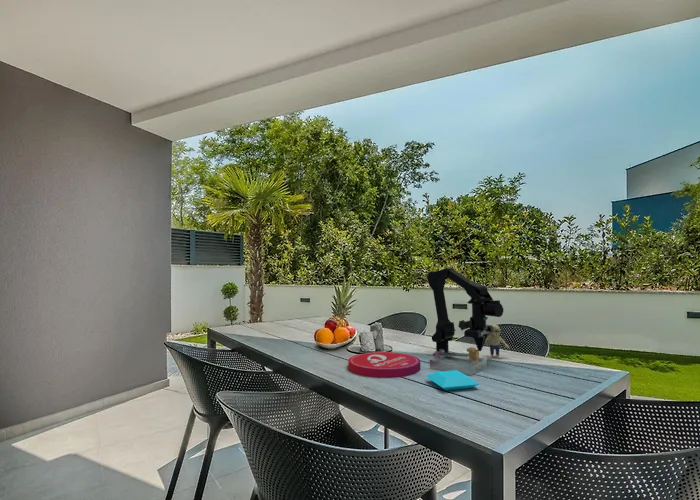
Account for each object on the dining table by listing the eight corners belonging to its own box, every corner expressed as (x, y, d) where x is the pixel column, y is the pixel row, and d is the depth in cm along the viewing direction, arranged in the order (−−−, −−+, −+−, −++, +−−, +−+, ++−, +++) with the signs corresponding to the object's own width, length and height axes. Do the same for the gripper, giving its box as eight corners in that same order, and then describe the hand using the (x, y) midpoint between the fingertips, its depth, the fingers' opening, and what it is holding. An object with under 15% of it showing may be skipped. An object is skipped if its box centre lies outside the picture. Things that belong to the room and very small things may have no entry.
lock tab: (471, 356, 173) (471, 346, 173) (479, 357, 171) (478, 347, 171) (466, 358, 168) (465, 348, 168) (473, 360, 166) (473, 349, 166)
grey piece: (446, 360, 181) (446, 345, 181) (487, 366, 169) (486, 350, 170) (429, 368, 168) (429, 352, 168) (471, 375, 157) (471, 358, 157)
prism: (442, 395, 137) (442, 381, 137) (425, 382, 150) (424, 370, 151) (480, 390, 140) (479, 377, 140) (460, 378, 154) (459, 366, 154)
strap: (440, 354, 172) (439, 351, 173) (469, 355, 164) (469, 352, 164) (436, 355, 170) (436, 352, 170) (466, 357, 162) (466, 354, 162)
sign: (434, 367, 171) (379, 356, 192) (434, 358, 171) (378, 349, 192) (390, 383, 149) (333, 369, 170) (390, 373, 149) (333, 360, 170)
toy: (479, 357, 185) (479, 324, 185) (480, 355, 190) (480, 323, 191) (509, 360, 180) (508, 326, 181) (509, 357, 186) (509, 324, 186)
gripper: (469, 311, 188) (470, 345, 188) (452, 315, 174) (452, 352, 173) (493, 312, 181) (494, 348, 181) (477, 317, 167) (478, 356, 166)
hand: (479, 350), depth 176 cm, fingers closed
